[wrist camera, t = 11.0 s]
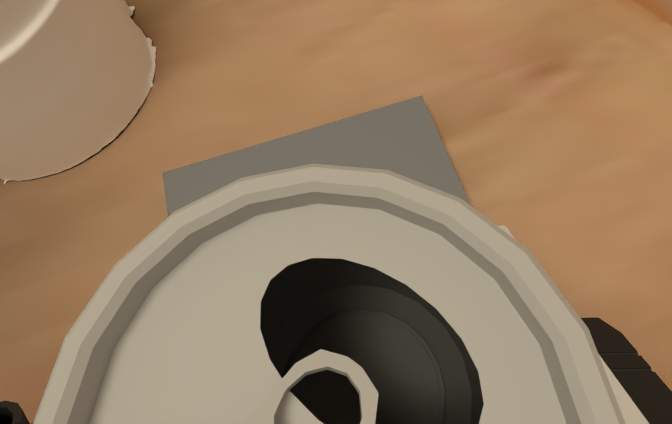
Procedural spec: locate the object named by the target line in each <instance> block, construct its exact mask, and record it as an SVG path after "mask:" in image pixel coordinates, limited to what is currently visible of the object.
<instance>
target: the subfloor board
mask: <svg viewBox="0 0 672 424" xmlns="http://www.w3.org/2000/svg"><path fill="white" fill-rule="evenodd" d="M308 164H325V165H336V166H348V167H360V168H372V169H384V170H389V171H392V172H394V173H397V174H399V175H402V176H405V177H407V178H410V179H412V180H415V181H418V182H420V183H423V184H425V185H428V186H431V187H433V188H436V189H438V190H441V191H444V192H446V193H449V194H451V195H454V196H456V197H459V198H461V199H463V200H464V201H465V202H466V203H468V204H469V205H470V203H469V200H468V198H467V196H466V194H465V191H464V189H463V187H462V185H461V182H460V180H459V178H458V176H457V173H456V171H455V169H454V167H453V165H452V162H451V160H450V158H449V156H448V153H447V151H446V149H445V147H444V144H443V142H442V140H441V138H440V135H439V133H438V131H437V129H436V126H435V124H434V122H433V120H432V117H431V115H430V113H429V111H428V108H427V106H426V104H425V102H424V100H423V97H422V96H419V97H416V98H412V99H409V100H405V101H402V102H399V103H395V104H392V105H389V106H385V107H382V108H379V109H375V110H372V111H369V112H365V113H362V114H359V115H355V116H352V117H348V118H345V119H342V120H338V121H335V122H332V123H328V124H325V125H322V126H318V127H315V128H312V129H308V130H305V131H302V132H298V133H295V134H291V135H288V136H285V137H281V138H278V139H275V140H271V141H268V142H265V143H261V144H258V145H255V146H251V147H248V148H245V149H241V150H238V151H234V152H231V153H228V154H224V155H221V156H218V157H214V158H211V159H208V160H204V161H201V162H198V163H194V164H191V165H188V166H184V167H181V168H177V169H174V170H171V171H167V172H164V173H163V178H164V186H165V194H166V202H167V210H168V217H169V216H170V215H171V214H172V213H173V212H174V211H176V210H178V209H180V208H182V207H184V206H186V205H188V204H190V203H192V202H194V201H196V200H198V199H200V198H202V197H204V196H206V195H208V194H210V193H212V192H214V191H216V190H218V189H220V188H222V187H224V186H226V185H228V184H230V183H232V182H234V181H236V180H238V179H240V178H243V177H248V176H253V175H258V174H263V173H268V172H273V171H278V170H283V169H288V168H293V167H298V166H303V165H308ZM470 206H471V205H470Z"/></svg>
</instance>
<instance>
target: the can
mask: <svg viewBox="0 0 672 424" xmlns="http://www.w3.org/2000/svg"><path fill="white" fill-rule="evenodd" d="M33 424H626V423H625V421H624V418H623V416H622V413H621V411H620V408H619V405H618V403H617V400H616V398H615V395H614V393H613V390H612V387H611V385H610V382H609V380H608V377H607V375H606V372H605V370H604V367H603V364H602V362H601V359H600V357H599V354H598V352H597V349H596V346H595V344H594V341H593V339H592V336H591V334H590V331H589V329H588V327H587V326H586V325H585V323H584V322H583V321H582V319H581V318H580V317H579V315H578V314H577V313H576V311H575V310H574V309H573V307H572V306H571V305H570V303H569V302H568V301H567V299H566V298H565V297H564V295H563V294H562V293H561V291H560V290H559V289H558V287H557V286H556V285H555V283H554V282H553V281H552V279H551V278H550V277H549V275H548V274H547V273H546V271H545V270H544V269H543V267H542V266H541V265H540V263H539V262H538V261H537V259H536V258H535V257H534V255H533V254H532V253H531V252H530V250H528V249H527V248H526V247H524V246H523V245H522V244H521V243H519V242H518V241H517V240H515V239H514V238H513V237H511V236H510V235H509V234H507V233H506V232H505V231H503V230H502V229H501V228H499V227H498V226H497V225H495V224H494V223H493V222H492V221H490V220H489V219H488V218H486V217H485V216H484V215H482V214H481V213H480V212H478V211H477V210H476V209H474V208H473V207H472V206H470V205H469V204H468V203H466V202H465V201H464V200H463V199H461V198H459V197H456V196H454V195H451V194H449V193H446V192H444V191H441V190H438V189H436V188H433V187H431V186H428V185H425V184H423V183H420V182H418V181H415V180H412V179H410V178H407V177H405V176H402V175H399V174H397V173H394V172H392V171H389V170H384V169H372V168H360V167H348V166H336V165H325V164H308V165H303V166H298V167H293V168H288V169H283V170H278V171H273V172H268V173H263V174H258V175H253V176H248V177H243V178H240V179H238V180H236V181H234V182H232V183H230V184H228V185H226V186H224V187H222V188H220V189H218V190H216V191H214V192H212V193H210V194H208V195H206V196H204V197H202V198H200V199H198V200H196V201H194V202H192V203H190V204H188V205H186V206H184V207H182V208H180V209H178V210H176V211H174V212H173V213H172V214H171V215H170V216H169V217H167V218H166V219H165V220H164V221H163V222H162V223H161V224H160V225H158V226H157V227H156V228H155V229H154V230H153V231H152V232H151V233H149V234H148V235H147V236H146V237H145V238H144V239H143V240H142V241H140V242H139V243H138V244H137V245H136V246H135V247H134V248H133V249H131V250H130V251H129V252H128V253H127V254H126V255H125V256H123V257H122V258H121V259H120V260H119V261H118V262H117V263H116V264H114V266H113V267H112V269H111V270H110V272H109V273H108V275H107V276H106V277H105V279H104V280H103V282H102V283H101V285H100V286H99V288H98V289H97V291H96V292H95V294H94V295H93V297H92V298H91V299H90V301H89V302H88V304H87V305H86V307H85V308H84V310H83V311H82V313H81V314H80V316H79V317H78V319H77V320H76V322H75V323H74V324H73V326H72V327H71V329H70V330H69V332H68V333H67V335H66V336H65V338H64V341H63V344H62V346H61V349H60V352H59V354H58V357H57V360H56V362H55V365H54V368H53V370H52V373H51V376H50V379H49V381H48V384H47V387H46V389H45V392H44V395H43V397H42V400H41V403H40V405H39V408H38V411H37V413H36V416H35V419H34V422H33Z"/></svg>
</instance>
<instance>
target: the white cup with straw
mask: <svg viewBox="0 0 672 424" xmlns="http://www.w3.org/2000/svg"><path fill="white" fill-rule="evenodd" d="M134 9H135V7H134V6H130V7H128V5H127V4H126V2H125V1H124V0H0V179H2V180H5V181H4V184H5V183H6V182H7V180H8V181H10V180H15V181H22V180H30V179H35V178H40V177H44V176H48V175H52V174H56V173H59V172H62V171H63V170H66V169H69V168H72V167H73V166H75V165H77V164H79V163H81V162H82V161H84V160H86V159H87V158H89V157H90V156H92V155H94V154H96V153H98V152H99V151H100V150H101V149H102V148H103V147H104V146H106V145H107V144H108V143H110V142H111V141H113V140H114V139H115V138H116V137H117V136H118V134H119V133H120V132H121V131H122V130H123V129H125V127H126V126H127V125H128V124H129V122H130V121H131V120H132V119H133V117H134V116H135V115H136V113H137V111H138V109H139V108H140V107H141V106H142V104H143V103H144V100H145V99H146V97H147V96H148V93H149V92H150V88H151V87H153V85H154V84H153V83H152V80H153V78H154V72H155V68H156V63H155V59H156V54H155V52H156V47H153V46H152V45H151V44H152V40H151V39H150V38H146V36H145V35H144V34H143V32H142V30H141V29H140V28H139V27H138V26H137V25H136V24H135V23H134V21H133V20H132V19H131V18H130V16H132V15H133V10H134Z"/></svg>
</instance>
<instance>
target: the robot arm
mask: <svg viewBox="0 0 672 424" xmlns="http://www.w3.org/2000/svg"><path fill="white" fill-rule="evenodd" d="M498 227H499V228H501V229H502V230H503V231H505V232H506V233H507V234H509V235H510V236H511V237H513V236H512V234H511V233H510V231H509V230H508V229H507V227H506V226H498ZM513 238H514V237H513ZM514 239H515V238H514ZM581 319H582V321H583V322H584V323H585V325H586V326H587V327H588V329H589V331H590V334H591V336H592V339H593V341H594V344H595V346H596V349H597V352H598V354H599V357H600V359H601V362H602V364H603V367H604V370H605V372H606V375H607V377H608V380H609V382H610V385H611V387H612V390H613V393H614V395H615V398H616V400H617V403H618V405H619V408H620V411H621V413H622V416H623V418H624V421H625V423H626V424H672V392H671V390H670V389H669V388H668V387H667V386H666V385H665V383H664V382H663V381H662V380H661V379H660V378H659V376H658V375H657V374H656V373H655V372H652V371H651V367H650V366H649V365H648V363H647V362H646V361H645V360H644V359H643V358H642V356H638V353H637V351H636V349H635V348H634V347H633V346H632V345H631V344H630V342H629V341H628V340H627V339H626V338H625V337H624V335H623V334H622V333H621V332H619V331H618V330H616V329H615V328H613V327H612V326H610V325H609V324H607V323H606V322H604V321H603V320H601V319H600V318H581ZM33 422H34V421H33ZM0 424H30V423H29V421H28V420H27V418H26V416H25V414H24V412H23V410H22V409H21V407H20V406H19V404H18V403H14V402H9V401H2V402H0ZM32 424H33V423H32Z"/></svg>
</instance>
